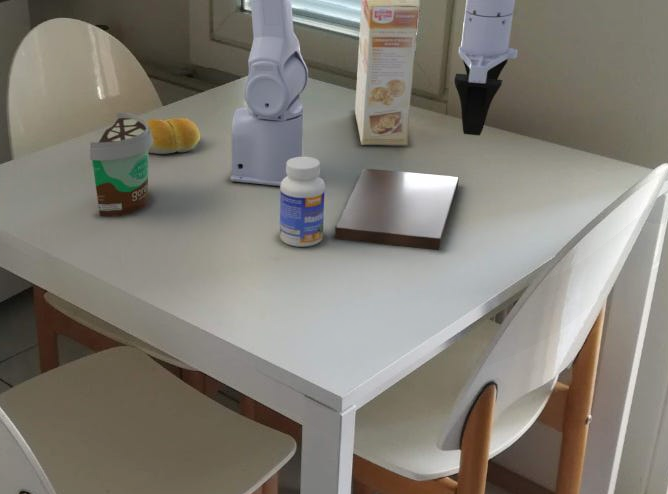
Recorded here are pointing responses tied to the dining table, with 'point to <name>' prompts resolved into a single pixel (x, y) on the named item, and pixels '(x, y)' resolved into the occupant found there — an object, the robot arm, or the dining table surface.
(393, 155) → the dining table surface
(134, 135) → the food container
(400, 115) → the coffeecake box
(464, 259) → the dining table surface
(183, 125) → the bread roll
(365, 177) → the walnut board
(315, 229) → the pill bottle
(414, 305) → the dining table surface
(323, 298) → the dining table surface
